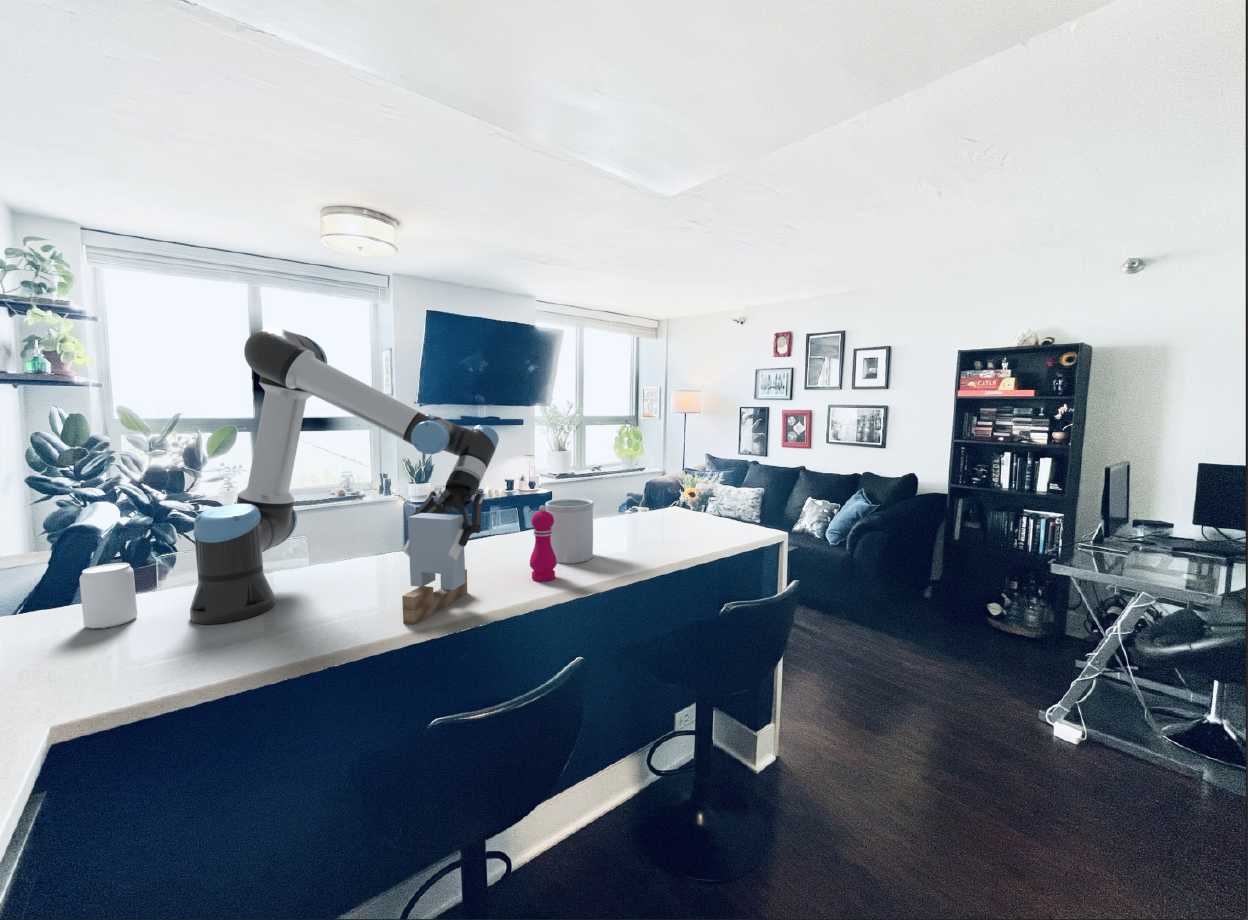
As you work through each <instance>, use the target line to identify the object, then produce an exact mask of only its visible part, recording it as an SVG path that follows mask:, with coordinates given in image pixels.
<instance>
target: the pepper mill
mask: <svg viewBox="0 0 1248 920" xmlns="http://www.w3.org/2000/svg"><path fill="white" fill-rule="evenodd" d="M538 508H539V511H537V512H535V513H534V514H533V515H532V517H531V525H532V527H533V536H534V539H535V541H534V543H535V544H534V548H533V549H532V552H531V554H530V559H529V567H530V568H531V569H532V570H533V571H531V579H533V580H532V581H534V582H538V581H546V582H551V581H553V580H555V578H556V571H555V567H556V566H557V565H558V563H557V561H556V556H555V553H554V551H553V549H552V546H551V535H552V529H551V527H552V526H553V524H554V518H553V515H552V514H551V513H549V512H547V511H546V507H545V505H540V506H539V507H538ZM552 579H553V580H552ZM550 580H551V581H550Z"/></svg>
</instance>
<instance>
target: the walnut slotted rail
mask: <svg viewBox="0 0 1248 920" xmlns="http://www.w3.org/2000/svg"><path fill="white" fill-rule="evenodd" d="M464 594H465V595H467V594H468V569H466V568H465V584H463V585H461V586H459V587H458V588H456V589H454V590H446V589H441V588H440V589H438V590H436V591H434V586H426V585H425V586H421V587H417V588H414V589H413V590H411V591H409V592H407V593H404V594H403V595H402V597H401V598H402V619H403V620H402V621H403V622H402V623H403V624H409V625H415V624H416V625H417V624H418V622H419V623H420V622H423V621H424V620H426V619H427V618H428V616H429V617H430V616H432V615H433V613H434V612H435V613H437V612H438V611H440V610H442V609H443V608H445V607H447V606H448V605H450V604H451V602H452V603H454V600H455V601H457V600H459V598H461V597H463V596H464ZM456 599H457V600H456ZM447 604H448V605H447ZM446 605H447V606H446ZM444 606H445V607H444ZM441 608H442V609H441ZM437 610H438V611H437ZM436 611H437V612H436ZM435 613H434V614H435ZM426 617H427V618H426ZM423 619H424V620H423Z"/></svg>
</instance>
